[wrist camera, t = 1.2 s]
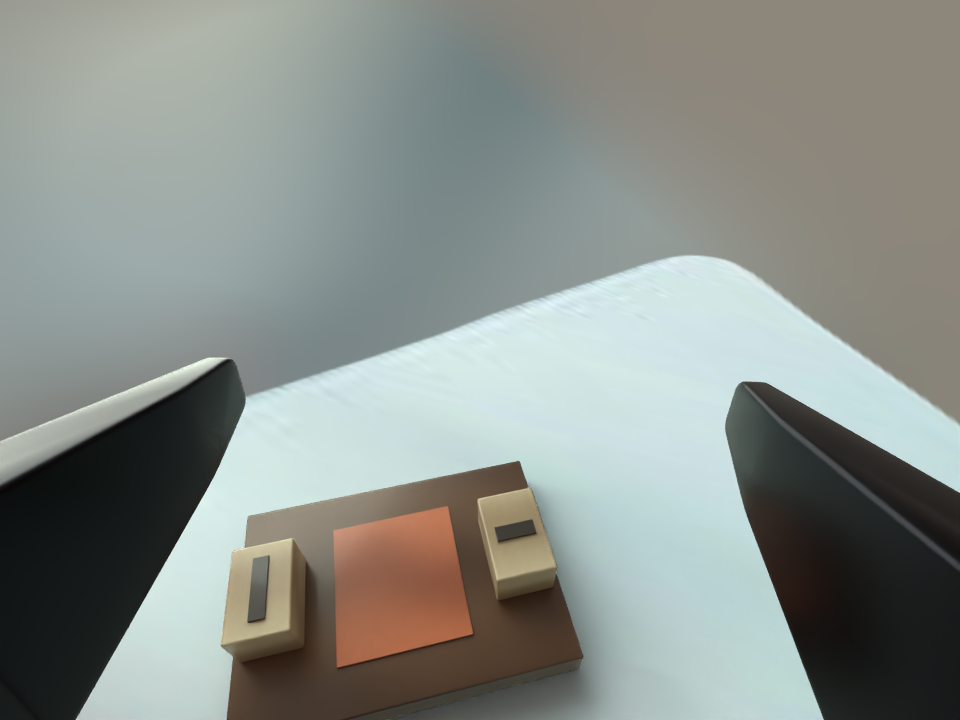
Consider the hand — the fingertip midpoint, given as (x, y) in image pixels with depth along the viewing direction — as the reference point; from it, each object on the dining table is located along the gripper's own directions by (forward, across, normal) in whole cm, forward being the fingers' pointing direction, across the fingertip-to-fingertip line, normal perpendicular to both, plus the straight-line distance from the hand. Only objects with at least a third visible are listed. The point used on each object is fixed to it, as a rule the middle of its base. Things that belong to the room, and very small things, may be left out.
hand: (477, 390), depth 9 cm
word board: (+6, +4, +15) cm, 17 cm away
